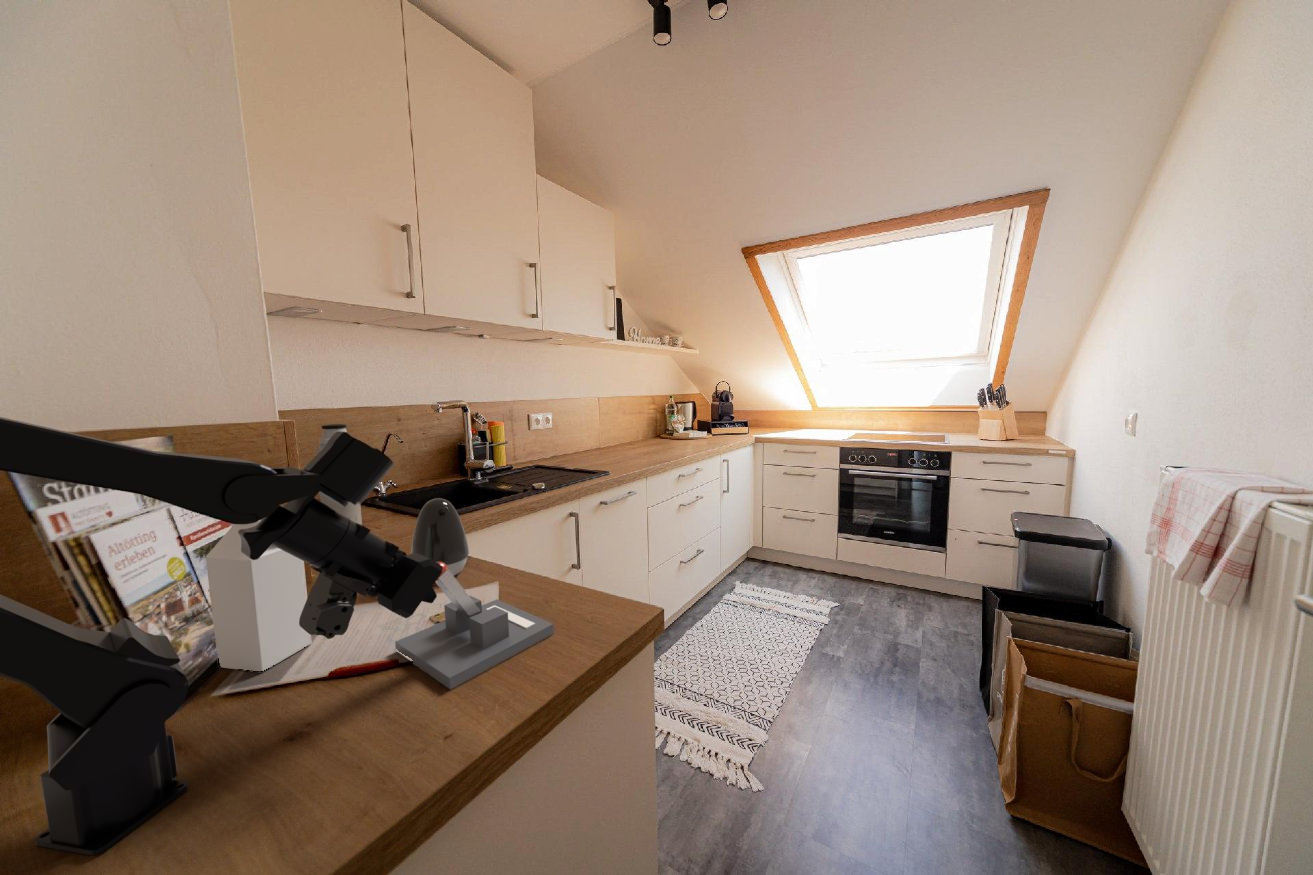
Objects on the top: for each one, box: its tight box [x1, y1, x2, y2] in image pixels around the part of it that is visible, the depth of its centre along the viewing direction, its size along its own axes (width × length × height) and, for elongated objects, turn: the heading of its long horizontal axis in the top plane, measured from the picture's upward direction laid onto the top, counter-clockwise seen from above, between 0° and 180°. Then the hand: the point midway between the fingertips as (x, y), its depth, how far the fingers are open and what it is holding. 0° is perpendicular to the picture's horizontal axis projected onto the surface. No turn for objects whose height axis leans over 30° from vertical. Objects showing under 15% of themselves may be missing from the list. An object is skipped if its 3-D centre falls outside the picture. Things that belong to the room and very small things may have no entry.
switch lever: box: [435, 562, 482, 622], centre depth 64 cm, size 2×3×11 cm
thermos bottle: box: [315, 423, 363, 525], centre depth 115 cm, size 8×8×28 cm
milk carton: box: [205, 519, 313, 672], centre depth 64 cm, size 7×7×19 cm
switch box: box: [394, 595, 555, 691], centre depth 67 cm, size 16×14×5 cm
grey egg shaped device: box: [410, 497, 470, 577], centre depth 91 cm, size 10×10×15 cm
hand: (433, 599), depth 62 cm, fingers closed
